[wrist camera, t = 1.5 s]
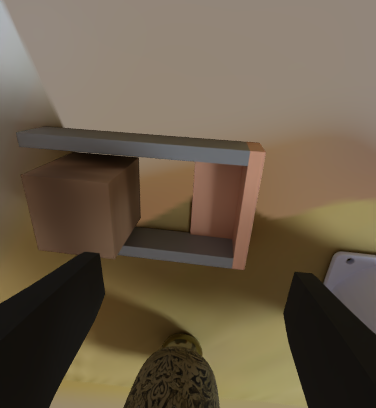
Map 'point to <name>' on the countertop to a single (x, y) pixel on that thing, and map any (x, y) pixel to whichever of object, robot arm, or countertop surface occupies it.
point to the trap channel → (202, 190)
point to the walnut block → (84, 203)
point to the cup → (175, 378)
